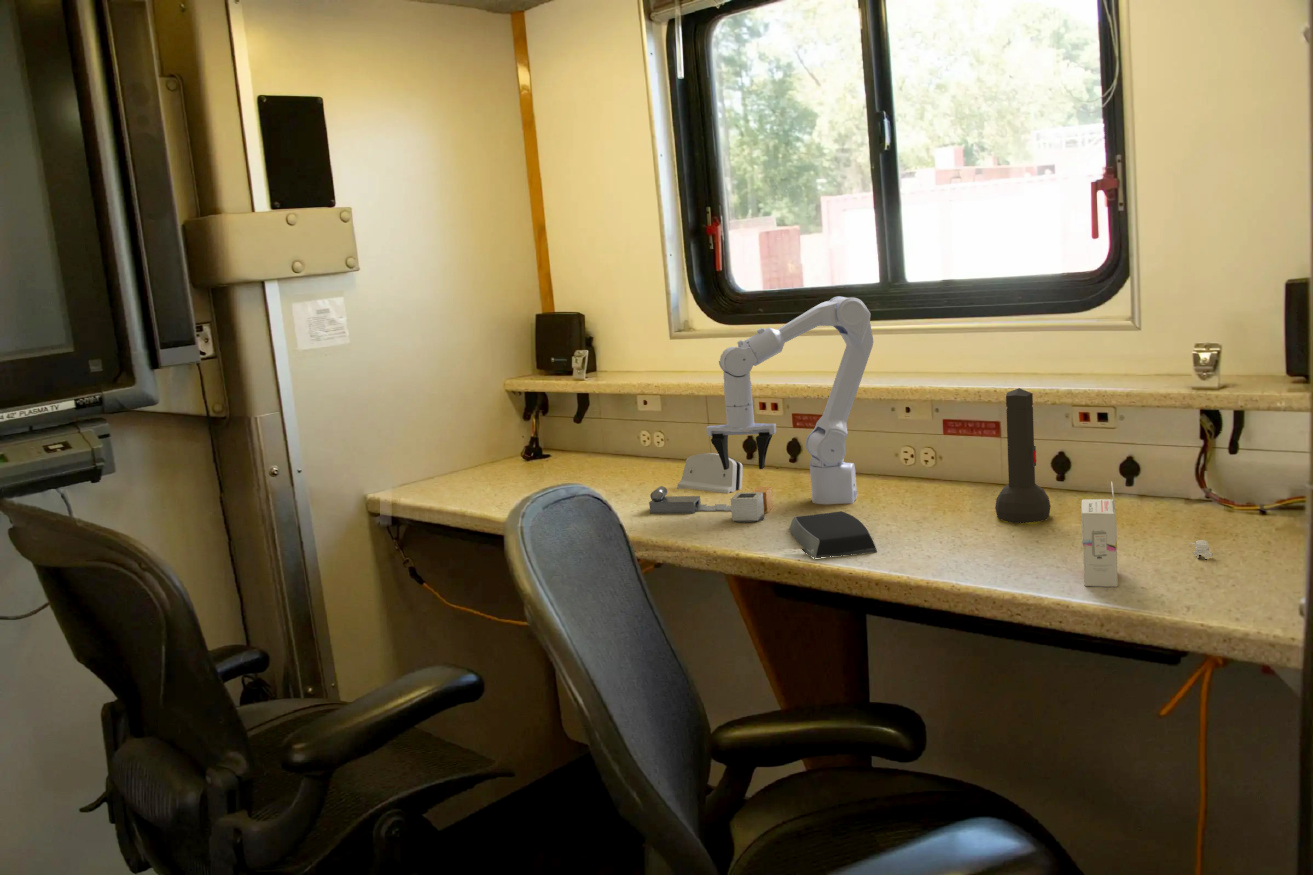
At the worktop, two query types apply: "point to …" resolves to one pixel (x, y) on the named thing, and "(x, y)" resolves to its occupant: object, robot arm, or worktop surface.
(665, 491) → the chain housing
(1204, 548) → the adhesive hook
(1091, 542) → the ink cartridge box
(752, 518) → the grey recessed block
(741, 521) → the post
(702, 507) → the chain slider
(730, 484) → the light grey piece
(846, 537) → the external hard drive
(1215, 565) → the worktop surface
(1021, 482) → the flashlight
